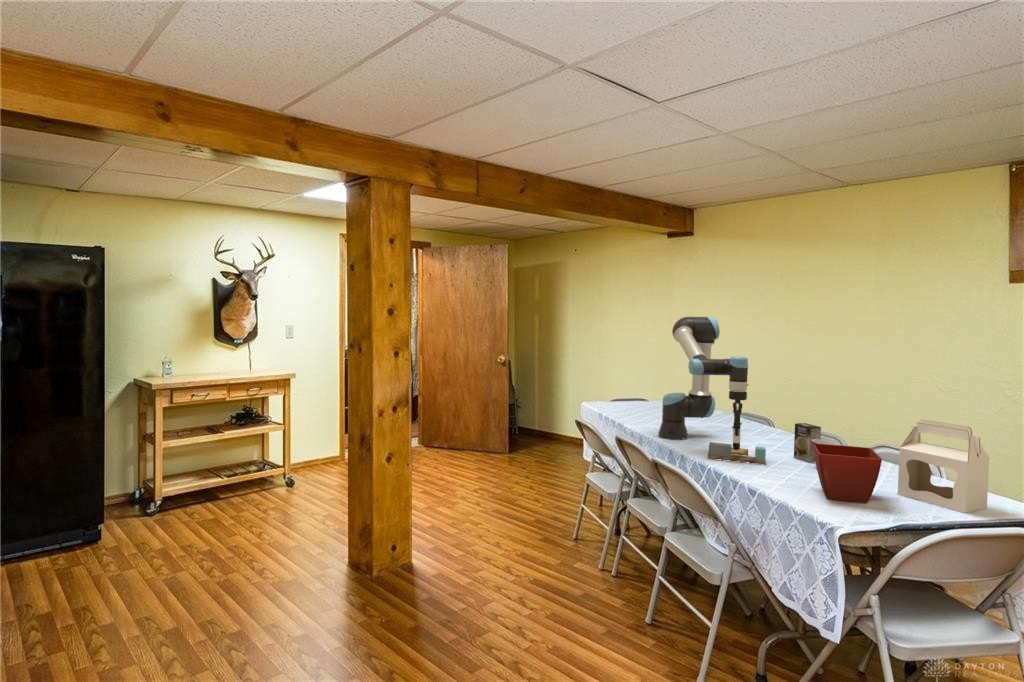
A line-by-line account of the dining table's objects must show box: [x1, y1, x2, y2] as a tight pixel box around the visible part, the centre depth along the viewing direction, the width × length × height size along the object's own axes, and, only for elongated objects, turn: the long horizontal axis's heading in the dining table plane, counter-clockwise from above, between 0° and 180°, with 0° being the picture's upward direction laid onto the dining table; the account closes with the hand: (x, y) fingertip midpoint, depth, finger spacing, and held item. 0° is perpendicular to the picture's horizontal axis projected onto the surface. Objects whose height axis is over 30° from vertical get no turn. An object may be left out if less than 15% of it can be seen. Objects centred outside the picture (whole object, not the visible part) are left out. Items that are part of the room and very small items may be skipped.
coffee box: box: [793, 422, 822, 463], centre depth 255 cm, size 9×6×16 cm
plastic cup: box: [812, 439, 841, 448], centre depth 240 cm, size 11×11×12 cm
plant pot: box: [813, 444, 883, 504], centre depth 203 cm, size 19×19×17 cm
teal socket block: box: [754, 445, 767, 462], centre depth 250 cm, size 4×5×5 cm
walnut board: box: [706, 451, 766, 465], centre depth 254 cm, size 24×7×2 cm, turn 68°
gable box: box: [897, 419, 990, 514], centre depth 199 cm, size 22×13×28 cm, turn 25°
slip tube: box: [731, 421, 749, 456], centre depth 254 cm, size 14×3×14 cm, turn 68°
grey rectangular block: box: [708, 441, 733, 457], centre depth 256 cm, size 10×5×5 cm, turn 68°
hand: (736, 440), depth 254 cm, fingers open, 8 cm apart
